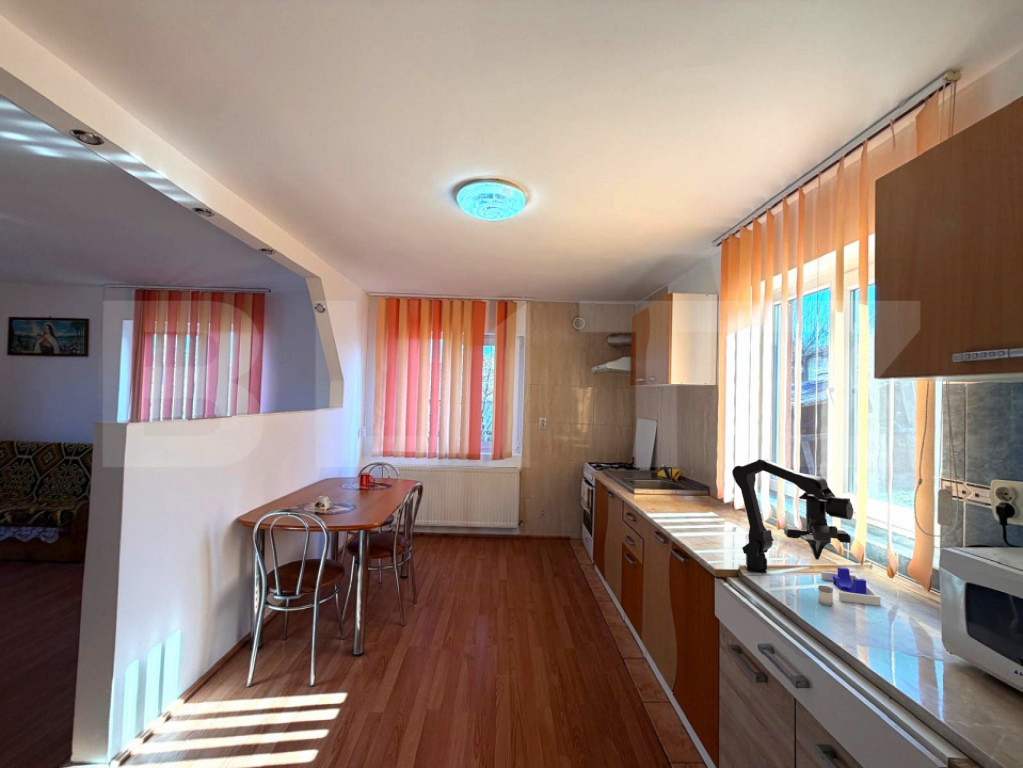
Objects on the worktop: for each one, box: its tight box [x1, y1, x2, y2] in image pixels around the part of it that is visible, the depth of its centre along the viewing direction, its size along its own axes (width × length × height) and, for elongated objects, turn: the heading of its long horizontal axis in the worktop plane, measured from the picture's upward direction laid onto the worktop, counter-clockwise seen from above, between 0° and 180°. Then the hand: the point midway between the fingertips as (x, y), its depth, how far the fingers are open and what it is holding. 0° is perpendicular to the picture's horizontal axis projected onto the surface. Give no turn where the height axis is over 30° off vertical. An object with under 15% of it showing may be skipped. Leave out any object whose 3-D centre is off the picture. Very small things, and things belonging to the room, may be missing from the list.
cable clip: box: [832, 566, 867, 595], centre depth 159 cm, size 12×4×6 cm, turn 170°
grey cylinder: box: [817, 585, 834, 607], centre depth 149 cm, size 4×4×5 cm
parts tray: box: [820, 570, 881, 606], centre depth 159 cm, size 11×20×3 cm, turn 161°
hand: (816, 559), depth 162 cm, fingers closed
